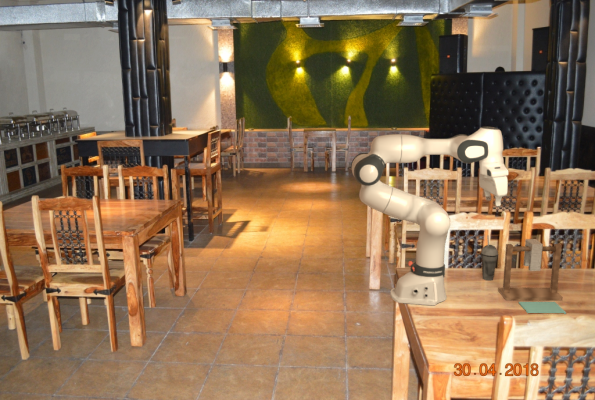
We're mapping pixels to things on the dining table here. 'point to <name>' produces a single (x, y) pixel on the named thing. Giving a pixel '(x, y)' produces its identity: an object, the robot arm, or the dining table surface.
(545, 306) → the mat
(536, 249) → the tall rectangular pillar
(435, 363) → the dining table surface
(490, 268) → the beverage cup
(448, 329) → the dining table surface
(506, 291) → the stand
